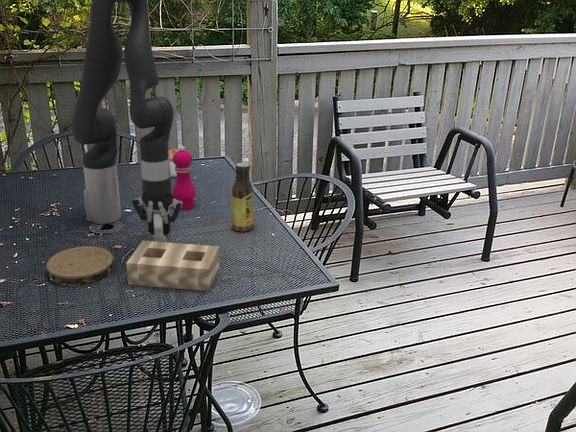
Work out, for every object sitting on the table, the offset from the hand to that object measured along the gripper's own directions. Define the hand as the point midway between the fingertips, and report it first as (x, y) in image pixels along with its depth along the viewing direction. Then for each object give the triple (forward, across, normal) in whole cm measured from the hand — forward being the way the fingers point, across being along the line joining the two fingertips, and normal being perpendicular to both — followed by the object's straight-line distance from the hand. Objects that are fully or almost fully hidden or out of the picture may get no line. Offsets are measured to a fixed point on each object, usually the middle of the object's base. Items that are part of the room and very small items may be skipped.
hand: (159, 233), depth 158 cm
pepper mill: (+4, -1, +29) cm, 29 cm away
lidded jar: (+4, -12, +57) cm, 58 cm away
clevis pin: (+4, 0, 0) cm, 4 cm away
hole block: (+4, +8, -14) cm, 17 cm away
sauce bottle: (+4, +20, +16) cm, 26 cm away
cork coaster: (+5, -16, -15) cm, 22 cm away
